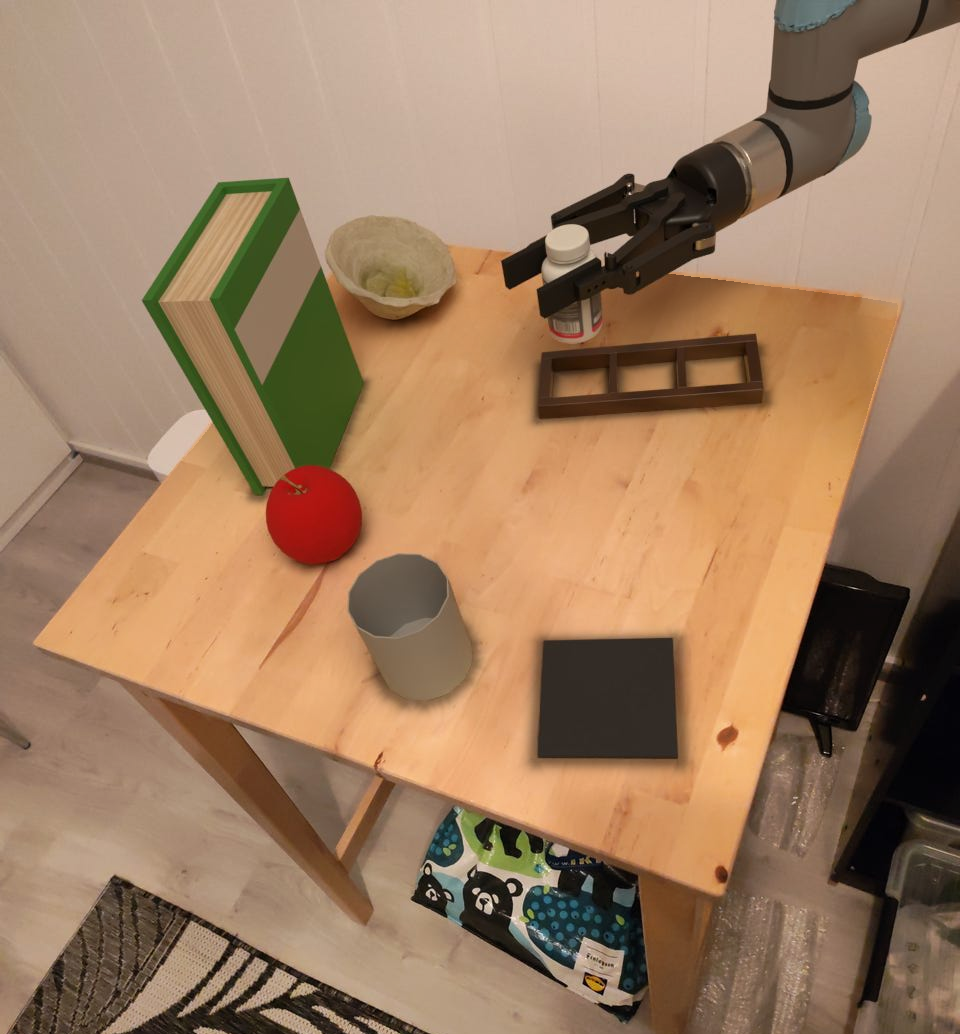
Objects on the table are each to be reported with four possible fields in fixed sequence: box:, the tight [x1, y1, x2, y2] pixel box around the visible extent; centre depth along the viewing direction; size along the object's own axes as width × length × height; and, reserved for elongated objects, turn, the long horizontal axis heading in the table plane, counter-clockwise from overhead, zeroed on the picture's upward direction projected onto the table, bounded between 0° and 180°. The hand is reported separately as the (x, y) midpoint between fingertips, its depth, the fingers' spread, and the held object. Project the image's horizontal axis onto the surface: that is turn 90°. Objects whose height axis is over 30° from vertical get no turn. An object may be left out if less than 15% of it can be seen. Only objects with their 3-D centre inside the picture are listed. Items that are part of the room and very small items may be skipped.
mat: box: [536, 637, 679, 760], centre depth 69 cm, size 11×11×1 cm
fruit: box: [265, 465, 363, 565], centre depth 80 cm, size 9×9×10 cm
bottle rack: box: [537, 333, 765, 420], centre depth 88 cm, size 23×9×2 cm, turn 85°
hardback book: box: [141, 177, 365, 496], centre depth 83 cm, size 18×7×24 cm, turn 168°
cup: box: [346, 552, 473, 702], centre depth 70 cm, size 8×8×10 cm
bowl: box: [324, 214, 458, 321], centre depth 99 cm, size 15×14×10 cm
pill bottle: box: [541, 224, 604, 345], centre depth 79 cm, size 5×5×10 cm
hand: (522, 289), depth 77 cm, fingers closed on pill bottle, 5 cm apart
